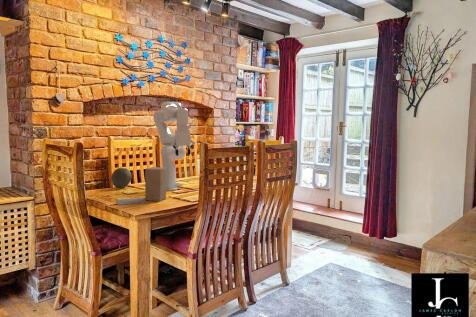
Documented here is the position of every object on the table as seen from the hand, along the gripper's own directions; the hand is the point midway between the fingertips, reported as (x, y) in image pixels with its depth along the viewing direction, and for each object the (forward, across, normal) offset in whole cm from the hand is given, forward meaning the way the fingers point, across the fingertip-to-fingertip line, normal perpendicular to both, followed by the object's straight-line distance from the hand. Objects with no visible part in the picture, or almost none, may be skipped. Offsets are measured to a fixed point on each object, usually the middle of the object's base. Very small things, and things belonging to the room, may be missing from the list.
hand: (183, 155), depth 231 cm
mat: (+28, +33, 0) cm, 43 cm away
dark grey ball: (+28, +35, -49) cm, 66 cm away
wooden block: (+28, +18, 0) cm, 33 cm away
